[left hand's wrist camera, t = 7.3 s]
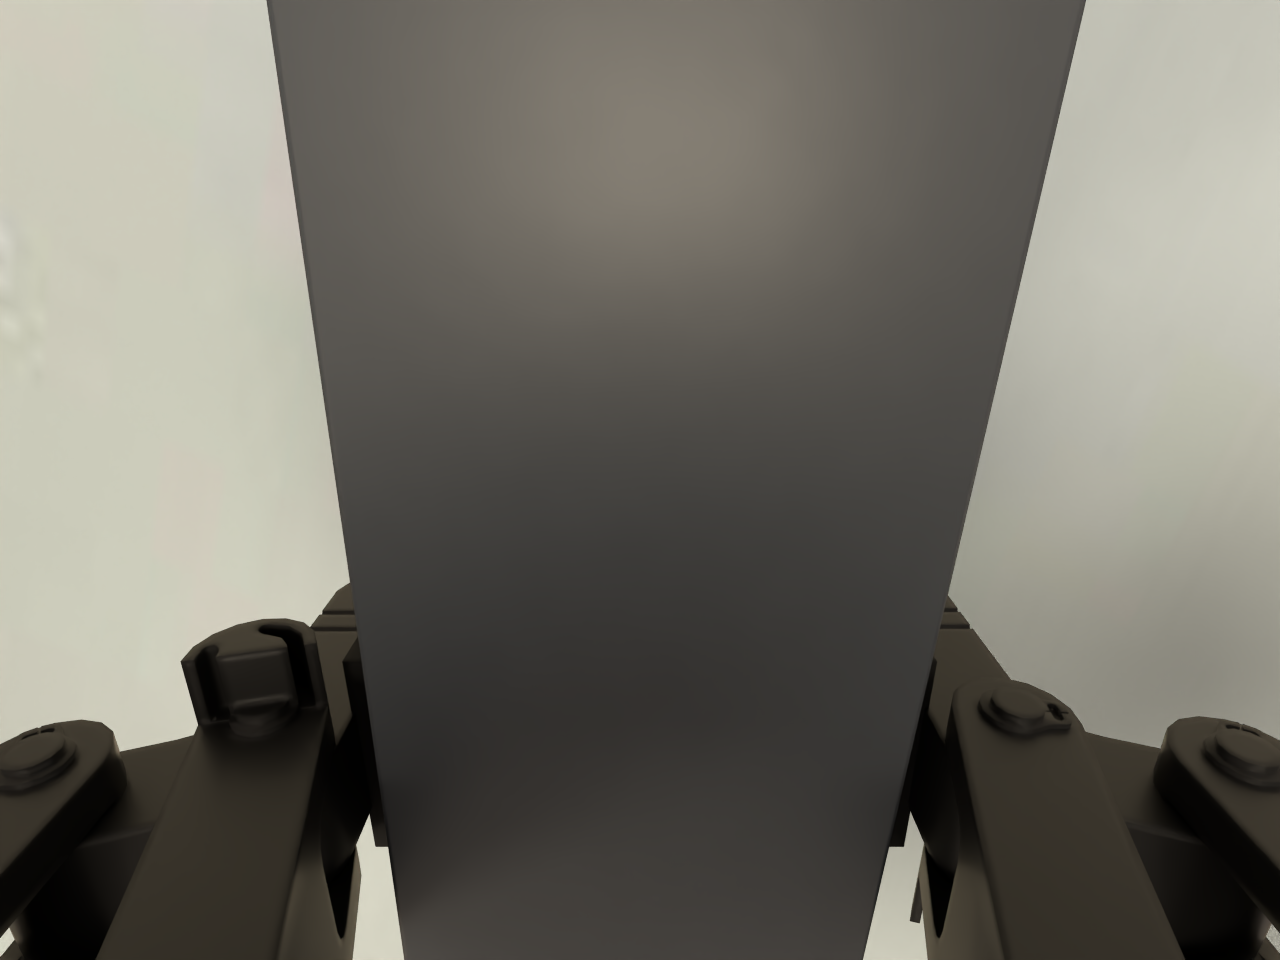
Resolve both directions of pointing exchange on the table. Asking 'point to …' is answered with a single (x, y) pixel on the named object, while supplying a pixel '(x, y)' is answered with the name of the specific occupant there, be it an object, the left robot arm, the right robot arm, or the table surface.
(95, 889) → the left robot arm
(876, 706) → the post
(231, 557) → the table surface
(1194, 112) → the table surface
